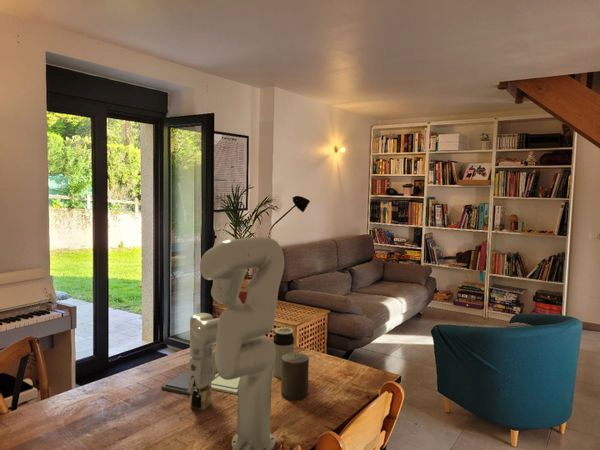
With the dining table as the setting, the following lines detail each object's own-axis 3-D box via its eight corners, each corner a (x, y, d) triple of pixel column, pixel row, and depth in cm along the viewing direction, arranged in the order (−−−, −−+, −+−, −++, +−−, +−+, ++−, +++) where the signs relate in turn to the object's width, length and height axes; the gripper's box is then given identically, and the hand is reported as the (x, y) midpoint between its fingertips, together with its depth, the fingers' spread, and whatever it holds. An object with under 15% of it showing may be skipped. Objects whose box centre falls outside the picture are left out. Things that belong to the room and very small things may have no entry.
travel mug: (297, 375, 182) (298, 330, 180) (281, 380, 177) (282, 335, 175) (283, 368, 188) (285, 325, 186) (268, 374, 182) (269, 329, 181)
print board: (236, 394, 164) (236, 391, 164) (202, 387, 169) (202, 384, 169) (255, 376, 180) (255, 374, 179) (223, 370, 184) (223, 368, 184)
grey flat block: (187, 394, 163) (187, 390, 163) (161, 389, 167) (161, 385, 167) (208, 379, 176) (208, 375, 176) (183, 374, 180) (183, 370, 180)
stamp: (203, 410, 152) (203, 387, 152) (190, 407, 154) (190, 384, 153) (211, 403, 157) (211, 381, 156) (198, 401, 159) (198, 378, 158)
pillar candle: (305, 402, 160) (306, 360, 159) (277, 398, 162) (278, 357, 160) (310, 390, 169) (311, 350, 168) (284, 387, 171) (285, 347, 170)
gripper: (197, 361, 145) (196, 417, 146) (224, 344, 161) (223, 394, 162) (176, 358, 147) (176, 412, 149) (205, 341, 163) (204, 390, 165)
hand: (201, 402), depth 156 cm, fingers closed on stamp, 5 cm apart
